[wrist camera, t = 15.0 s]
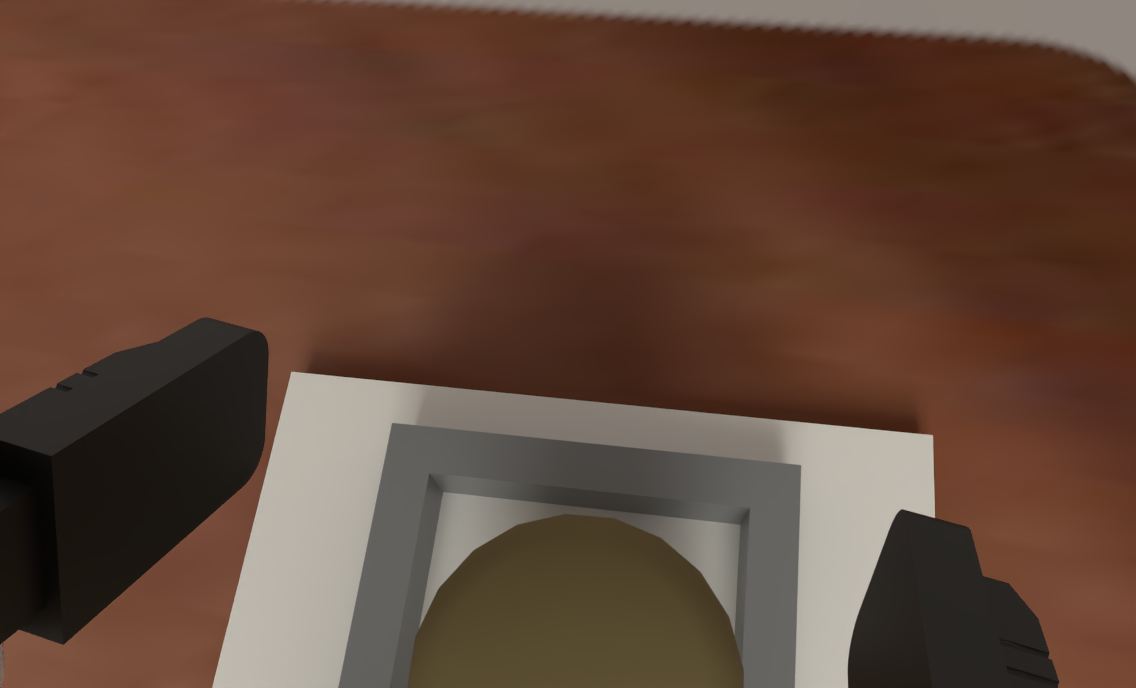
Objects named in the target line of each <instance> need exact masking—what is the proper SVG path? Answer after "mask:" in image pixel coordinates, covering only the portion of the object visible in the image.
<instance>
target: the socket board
mask: <svg viewBox="0 0 1136 688" xmlns="http://www.w3.org/2000/svg"><path fill="white" fill-rule="evenodd" d="M901 509H904V510H907V511H911V512H915V513H918V514H922V515H926V516H929V517H933V518H935V500H934V461H933V435H925V434H915V433H905V432H894V431H884V430H874V429H864V428H854V427H844V426H834V425H824V424H814V423H804V422H793V421H783V420H773V419H763V418H753V417H743V416H733V415H723V414H713V413H703V412H693V411H682V410H672V409H662V408H652V407H642V406H632V405H622V404H612V403H602V402H592V401H581V400H571V399H561V398H551V397H541V396H531V395H521V394H511V393H501V392H491V391H480V390H470V389H460V388H450V387H440V386H430V385H420V384H410V383H400V382H390V381H379V380H369V379H359V378H349V377H339V376H329V375H319V374H309V373H299V372H291V376H290V380H289V384H288V388H287V392H286V396H285V400H284V404H283V408H282V412H281V416H280V420H279V424H278V428H277V432H276V436H275V440H274V444H273V448H272V452H271V456H270V460H269V464H268V468H267V472H266V476H265V480H264V484H263V488H262V492H261V496H260V500H259V504H258V508H257V512H256V516H255V520H254V524H253V527H252V531H251V535H250V539H249V543H248V547H247V551H246V555H245V559H244V563H243V567H242V571H241V575H240V579H239V583H238V587H237V591H236V595H235V599H234V603H233V607H232V611H231V615H230V619H229V623H228V627H227V631H226V635H225V639H224V643H223V647H222V651H221V655H220V659H219V663H218V667H217V671H216V675H215V679H214V683H213V687H212V688H407V686H408V679H409V673H410V667H411V660H412V654H413V648H414V641H415V636H416V634H417V632H418V630H419V628H420V626H421V624H422V622H423V620H424V617H425V615H426V613H427V611H428V609H429V607H430V605H431V603H432V601H433V599H434V597H435V595H436V592H437V590H438V588H439V587H440V586H441V585H442V584H443V583H444V582H445V581H446V580H447V579H448V577H449V576H450V575H451V574H452V573H453V572H454V571H455V570H456V569H457V568H458V567H459V565H460V564H461V563H462V562H463V561H464V560H465V559H466V558H467V557H468V556H469V555H470V553H471V552H472V551H473V550H475V549H476V548H478V547H480V546H481V545H483V544H485V543H487V542H488V541H490V540H492V539H493V538H495V537H497V536H499V535H500V534H502V533H504V532H505V531H507V530H509V529H511V528H512V527H514V526H516V525H518V524H523V523H527V522H531V521H536V520H540V519H545V518H549V517H554V516H558V515H562V514H573V515H584V516H595V517H606V518H615V519H618V520H620V521H622V522H625V523H627V524H629V525H632V526H634V527H636V528H639V529H641V530H644V531H646V532H648V533H651V534H653V535H655V536H658V537H660V538H662V539H663V540H664V541H665V542H666V543H668V544H669V545H670V546H671V547H672V548H673V549H675V550H676V551H677V552H678V553H679V554H680V555H682V556H683V557H684V558H685V559H686V560H687V561H689V562H690V563H691V564H692V565H693V566H695V567H696V568H697V569H698V570H699V571H700V572H701V573H702V575H703V576H704V578H705V580H706V581H707V583H708V584H709V586H710V587H711V589H712V591H713V592H714V594H715V595H716V597H717V598H718V600H719V602H720V603H721V605H722V606H723V608H724V610H725V611H726V613H727V614H728V616H729V618H730V622H731V625H732V629H733V633H734V636H735V640H736V643H737V647H738V651H739V654H740V658H741V662H742V665H743V669H744V688H848V657H849V649H850V643H851V638H852V634H853V630H854V626H855V622H856V619H857V616H858V613H859V610H860V608H861V605H862V602H863V599H864V597H865V594H866V591H867V589H868V586H869V583H870V580H871V578H872V575H873V572H874V570H875V567H876V564H877V561H878V559H879V556H880V553H881V551H882V548H883V545H884V543H885V540H886V537H887V534H888V532H889V529H890V526H891V524H892V522H893V520H894V518H895V516H896V514H897V513H898V512H899V511H900V510H901Z"/></svg>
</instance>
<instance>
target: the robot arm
mask: <svg viewBox="0 0 1136 688" xmlns="http://www.w3.org/2000/svg"><path fill="white" fill-rule="evenodd" d="M268 356H269V355H268V343H267V340H266V338H265V336H264V335H263V334H262V333H261V332H259V331H255V330H252V329H248V328H244V327H241V326H237V325H233V324H230V323H226V322H222V321H219V320H215V319H211V318H201V319H199V320H197V321H195V322H193V323H191V324H189V325H188V326H186V327H184V328H182V329H180V330H179V331H177V332H175V333H173V334H171V335H169V336H168V337H166V338H164V339H162V340H160V341H159V342H155V343H151V344H147V345H143V346H140V347H136V348H132V349H128V350H124V351H120V352H116V353H114V354H112V355H110V356H108V357H106V358H104V359H102V360H101V361H99V362H97V363H95V364H93V365H91V366H89V367H87V368H85V369H84V370H83V373H82V374H78V373H76V374H74V375H72V376H70V377H69V378H67V379H65V380H63V381H61V382H59V383H57V386H56V388H55V389H54V388H51V387H50V388H48V389H46V390H44V391H42V392H40V393H39V394H37V395H35V396H33V397H31V398H29V399H27V400H25V401H24V402H22V403H20V404H18V405H16V406H14V407H12V408H10V409H9V410H7V411H5V412H3V413H1V414H0V688H1V685H2V679H3V672H4V650H3V642H4V641H5V640H6V639H8V638H9V637H10V636H11V635H12V634H14V633H15V632H16V631H17V630H22V631H25V632H28V633H31V634H34V635H37V636H39V637H42V638H45V639H48V640H51V641H54V642H57V643H60V644H63V645H64V644H65V643H66V642H67V641H68V640H69V639H70V638H72V637H73V636H74V635H75V634H76V633H77V632H78V631H79V630H81V629H82V628H83V627H84V626H85V625H86V624H87V623H89V622H90V621H91V620H92V619H93V618H94V617H95V616H97V615H98V614H99V613H100V612H101V611H102V610H103V609H104V608H106V607H107V606H108V605H109V604H110V603H111V602H112V601H114V600H115V599H116V598H117V597H118V596H119V595H120V594H122V593H123V592H124V591H125V590H126V589H127V588H128V587H129V586H131V585H132V584H133V583H134V582H135V581H136V580H137V579H139V578H140V577H141V576H142V575H143V574H144V573H145V572H146V571H148V570H149V569H150V568H151V567H152V566H153V565H154V564H156V563H157V562H158V561H159V560H160V559H161V558H162V557H164V556H165V555H166V554H167V553H168V552H169V551H170V550H171V549H173V548H174V547H175V546H176V545H177V544H178V543H179V542H181V541H182V540H183V539H184V538H185V537H186V536H187V535H189V534H190V533H191V532H192V531H193V530H194V529H195V528H196V527H198V526H199V525H200V524H201V523H202V522H203V521H204V520H206V519H207V518H208V517H209V516H210V515H211V514H212V513H213V512H215V511H216V510H217V509H218V508H219V507H220V506H221V505H223V504H224V503H225V502H226V501H227V500H228V499H229V498H231V497H232V496H233V495H234V494H235V493H236V492H237V491H238V490H240V489H241V488H242V487H243V486H244V485H245V484H246V483H247V482H248V480H249V479H250V478H251V476H252V475H253V473H254V471H255V470H256V468H257V465H258V463H259V461H260V458H261V455H262V451H263V447H264V442H265V425H266V402H267V379H268ZM1048 656H1049V650H1048V647H1047V644H1046V641H1045V638H1044V635H1043V632H1042V629H1041V626H1040V623H1039V620H1038V618H1037V617H1036V615H1035V614H1034V613H1033V612H1032V611H1031V609H1030V608H1029V607H1028V606H1027V605H1026V603H1025V602H1024V601H1023V600H1022V599H1021V598H1020V596H1019V595H1018V594H1017V593H1016V592H1015V590H1014V589H1013V588H1012V587H1011V586H1010V584H1009V583H1005V582H1002V581H998V580H995V579H991V578H988V577H984V576H983V575H982V571H981V568H980V564H979V560H978V556H977V553H976V549H975V545H974V541H973V537H972V534H971V531H970V529H969V528H968V527H966V526H962V525H959V524H955V523H951V522H948V521H944V520H940V519H937V518H933V517H929V516H926V515H922V514H918V513H915V512H911V511H907V510H904V509H901V510H900V511H899V512H898V513H897V514H896V516H895V518H894V520H893V522H892V524H891V526H890V529H889V532H888V534H887V537H886V540H885V543H884V545H883V548H882V551H881V553H880V556H879V559H878V561H877V564H876V567H875V570H874V572H873V575H872V578H871V580H870V583H869V586H868V589H867V591H866V594H865V597H864V599H863V602H862V605H861V608H860V610H859V613H858V616H857V619H856V622H855V626H854V630H853V634H852V638H851V643H850V649H849V657H848V688H1058V683H1059V680H1058V677H1057V674H1056V671H1055V668H1054V665H1053V662H1052V660H1051V659H1048Z"/></svg>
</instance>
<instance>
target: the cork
mask: <svg viewBox="0 0 1136 688" xmlns="http://www.w3.org/2000/svg"><path fill="white" fill-rule="evenodd" d="M407 688H744V669H743V665H742V662H741V658H740V654H739V651H738V647H737V643H736V640H735V636H734V633H733V629H732V625H731V622H730V618H729V616H728V614H727V613H726V611H725V610H724V608H723V606H722V605H721V603H720V602H719V600H718V598H717V597H716V595H715V594H714V592H713V591H712V589H711V587H710V586H709V584H708V583H707V581H706V580H705V578H704V576H703V575H702V573H701V572H700V571H699V570H698V569H697V568H696V567H695V566H693V565H692V564H691V563H690V562H689V561H687V560H686V559H685V558H684V557H683V556H682V555H680V554H679V553H678V552H677V551H676V550H675V549H673V548H672V547H671V546H670V545H669V544H668V543H666V542H665V541H664V540H663V539H662V538H660V537H658V536H655V535H653V534H651V533H648V532H646V531H644V530H641V529H639V528H636V527H634V526H632V525H629V524H627V523H625V522H622V521H620V520H618V519H615V518H606V517H595V516H584V515H573V514H562V515H558V516H554V517H549V518H545V519H540V520H536V521H531V522H527V523H523V524H518V525H516V526H514V527H512V528H511V529H509V530H507V531H505V532H504V533H502V534H500V535H499V536H497V537H495V538H493V539H492V540H490V541H488V542H487V543H485V544H483V545H481V546H480V547H478V548H476V549H475V550H473V551H472V552H471V553H470V555H469V556H468V557H467V558H466V559H465V560H464V561H463V562H462V563H461V564H460V565H459V567H458V568H457V569H456V570H455V571H454V572H453V573H452V574H451V575H450V576H449V577H448V579H447V580H446V581H445V582H444V583H443V584H442V585H441V586H440V587H439V588H438V590H437V592H436V595H435V597H434V599H433V601H432V603H431V605H430V607H429V609H428V611H427V613H426V615H425V617H424V620H423V622H422V624H421V626H420V628H419V630H418V632H417V634H416V636H415V641H414V648H413V654H412V660H411V667H410V673H409V679H408V686H407Z"/></svg>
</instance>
